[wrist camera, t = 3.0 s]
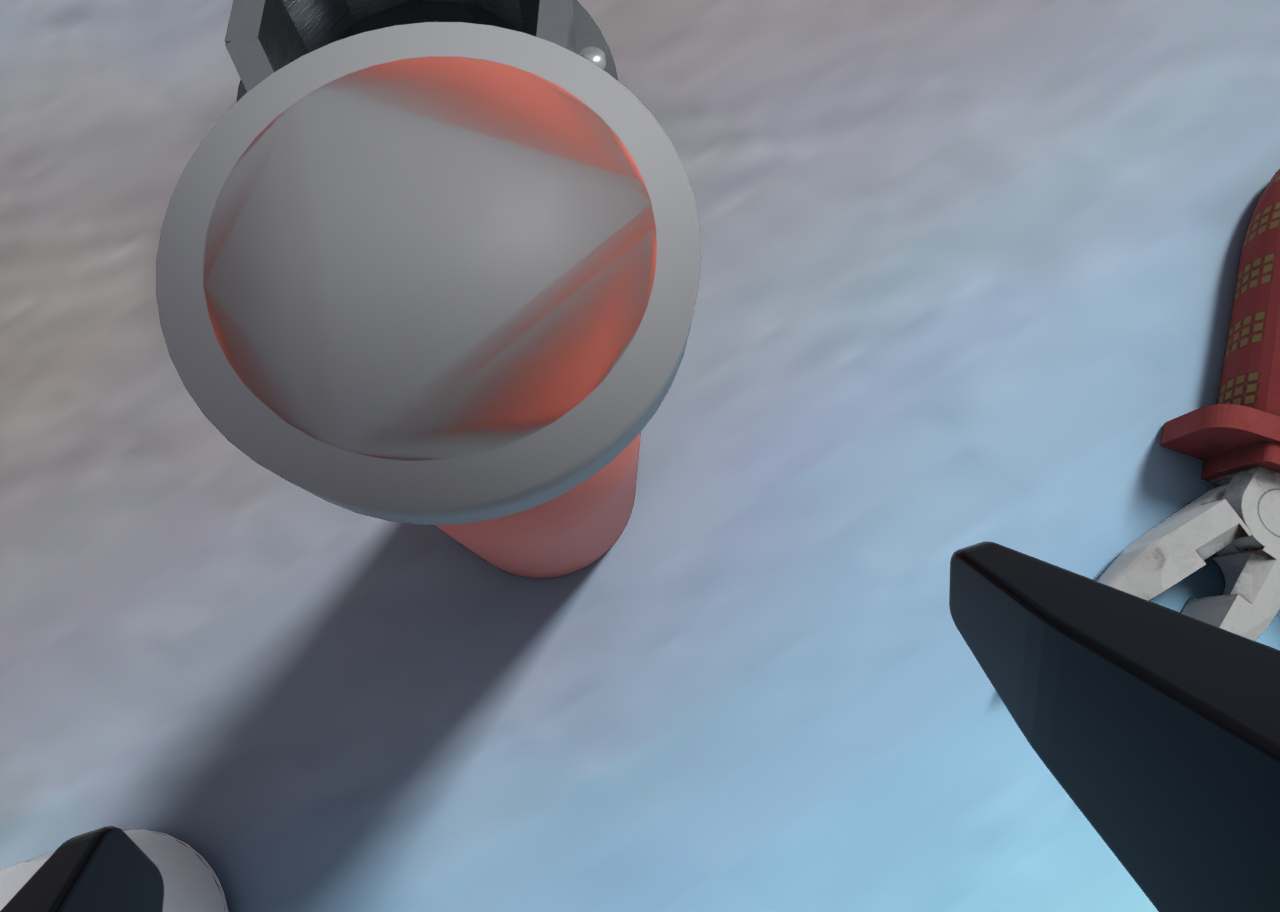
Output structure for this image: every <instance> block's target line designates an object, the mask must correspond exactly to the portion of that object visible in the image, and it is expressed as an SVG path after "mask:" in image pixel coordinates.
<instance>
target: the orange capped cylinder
mask: <svg viewBox="0 0 1280 912" xmlns="http://www.w3.org/2000/svg"><path fill="white" fill-rule="evenodd" d="M701 259H702V255H701V233H700V223H699V218H698V213H697V207H696V202H695V197H694V194H693V191H692V188H691V185H690V182H689V179H688V177H687V174H686V171H685V168H684V166H683V164H682V162H681V160H680V158H679V156H678V154H677V152H676V150H675V148H674V146H673V144H672V143H671V141H670V139H669V138H668V136H667V135H666V133H665V132H664V131H663V129H662V128H661V126H660V125H659V123H658V122H657V121H656V119H655V118H654V116H653V115H652V114H651V113H650V112H649V111H648V110H647V109H646V108H645V106H644V105H643V104H642V103H641V102H640V101H639V100H638V99H637V98H636V97H635V96H634V95H633V93H631V92H630V91H629V90H628V89H627V88H625V87H624V86H623V85H622V84H621V83H619V82H618V81H617V80H616V79H615V78H613V77H612V76H611V75H610V74H609V73H607V72H606V71H604V70H602V69H601V68H599V67H598V66H596V65H595V64H593V63H591V62H590V61H588V60H587V59H585V58H584V57H582V56H580V55H578V54H576V53H574V52H572V51H570V50H568V49H565V48H563V47H561V46H559V45H557V44H555V43H553V42H550V41H547V40H544V39H541V38H538V37H535V36H532V35H529V34H527V33H523V32H519V31H514V30H510V29H505V28H501V27H497V26H491V25H482V24H473V23H464V22H424V23H414V24H405V25H395V26H391V27H386V28H381V29H377V30H372V31H367V32H363V33H360V34H357V35H354V36H351V37H347V38H344V39H341V40H338V41H335V42H332V43H330V44H328V45H325V46H323V47H321V48H319V49H317V50H314V51H312V52H310V53H308V54H305V55H303V56H301V57H299V58H298V59H296V60H294V61H293V62H291V63H289V64H288V65H286V66H284V67H283V68H281V69H279V70H277V71H276V72H274V73H272V74H271V75H270V76H269V77H267V78H266V79H265V80H263V81H262V82H261V83H259V84H258V85H257V86H255V87H254V88H253V89H251V90H250V91H249V92H247V93H246V94H245V95H244V96H243V97H242V98H241V99H240V100H239V101H238V102H237V103H236V104H235V105H233V106H232V107H231V108H230V109H229V110H228V111H227V112H226V113H225V114H224V115H223V116H222V117H221V118H220V120H219V121H218V122H217V123H216V125H215V126H214V127H213V128H212V129H211V131H210V132H209V133H208V134H207V135H206V137H205V138H204V139H203V140H202V142H201V143H200V145H199V146H198V148H197V150H196V151H195V153H194V154H193V156H192V157H191V159H190V161H189V162H188V164H187V165H186V167H185V169H184V171H183V173H182V175H181V177H180V179H179V181H178V184H177V186H176V188H175V190H174V192H173V194H172V197H171V199H170V202H169V206H168V209H167V212H166V216H165V219H164V222H163V225H162V229H161V235H160V241H159V247H158V254H157V260H156V296H157V303H158V310H159V317H160V323H161V328H162V331H163V334H164V338H165V341H166V344H167V347H168V351H169V354H170V357H171V359H172V361H173V363H174V366H175V368H176V370H177V372H178V374H179V376H180V378H181V380H182V382H183V384H184V386H185V388H186V389H187V391H188V392H189V394H190V395H191V397H192V398H193V399H194V401H195V402H196V404H197V405H198V407H199V408H200V410H201V411H202V412H203V414H204V415H205V416H206V418H207V419H208V420H209V421H210V422H211V423H212V424H213V425H214V426H215V427H216V428H217V429H218V430H219V431H220V432H221V433H222V434H223V435H224V436H225V438H226V439H227V440H228V441H229V442H231V443H232V444H233V445H235V446H236V447H237V448H238V449H240V450H241V451H242V452H243V453H245V454H246V455H247V456H249V457H250V458H251V459H252V460H254V461H255V462H256V463H258V464H259V465H261V466H263V467H265V468H266V469H268V470H270V471H272V472H273V473H275V474H277V475H279V476H280V477H282V478H284V479H286V480H287V481H289V482H291V483H293V484H295V485H297V486H299V487H301V488H303V489H305V490H307V491H308V492H310V493H312V494H314V495H316V496H318V497H320V498H322V499H324V500H326V501H328V502H331V503H333V504H336V505H338V506H341V507H343V508H346V509H348V510H351V511H353V512H356V513H359V514H363V515H367V516H371V517H375V518H379V519H383V520H387V521H393V522H402V523H410V524H419V525H435V526H437V527H438V528H440V529H441V530H442V531H444V532H445V533H447V534H448V535H450V536H451V537H453V538H454V539H455V540H457V541H458V542H460V543H461V544H463V545H464V546H466V547H467V548H468V549H470V550H471V551H473V552H474V553H476V554H477V555H479V556H480V557H482V558H483V559H484V560H486V561H487V562H489V563H490V564H492V565H494V566H496V567H497V568H499V569H501V570H504V571H506V572H509V573H511V574H515V575H519V576H523V577H530V578H551V577H558V576H563V575H566V574H570V573H573V572H576V571H578V570H580V569H582V568H585V567H586V566H588V565H590V564H591V563H593V562H595V561H596V560H597V559H599V558H600V557H601V556H602V555H604V554H605V553H606V552H607V551H608V550H609V549H610V548H611V547H612V546H613V545H614V543H615V542H616V541H617V539H618V538H619V537H620V535H621V534H622V532H623V530H624V528H625V527H626V525H627V523H628V520H629V518H630V515H631V512H632V508H633V504H634V499H635V491H636V480H637V469H638V458H639V447H640V436H641V431H642V429H643V428H644V427H645V425H646V424H647V423H648V422H649V420H650V419H651V418H652V416H653V415H654V414H655V412H656V411H657V409H658V408H659V406H660V404H661V402H662V401H663V399H664V397H665V395H666V394H667V392H668V390H669V388H670V387H671V385H672V383H673V380H674V378H675V375H676V373H677V370H678V368H679V365H680V363H681V360H682V358H683V355H684V351H685V347H686V343H687V339H688V335H689V331H690V327H691V322H692V317H693V313H694V308H695V303H696V299H697V294H698V289H699V279H700V269H701Z"/></svg>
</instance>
